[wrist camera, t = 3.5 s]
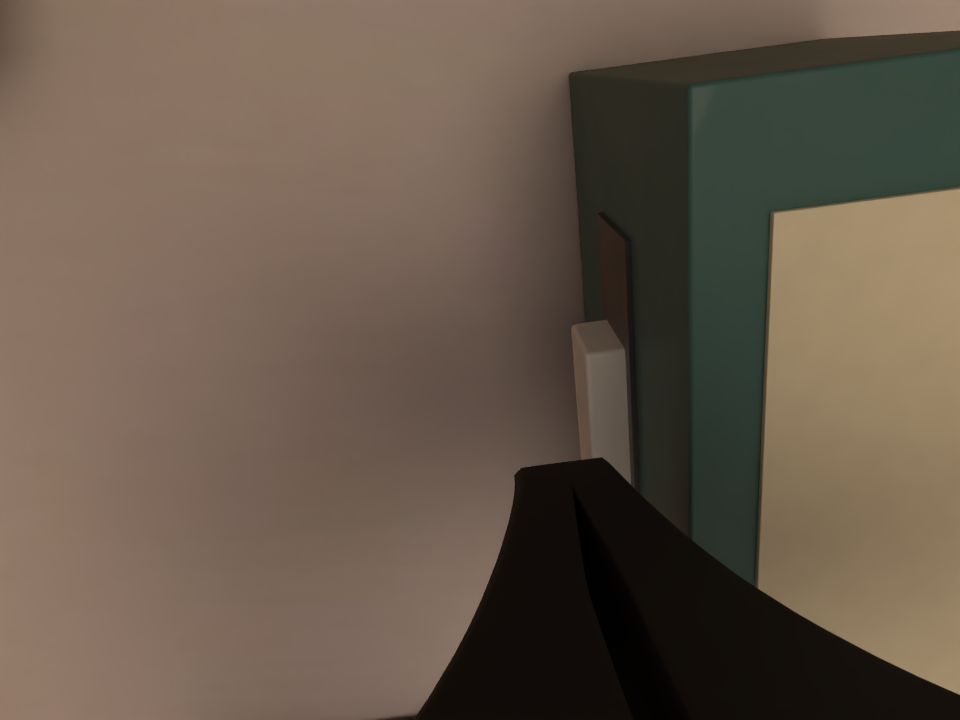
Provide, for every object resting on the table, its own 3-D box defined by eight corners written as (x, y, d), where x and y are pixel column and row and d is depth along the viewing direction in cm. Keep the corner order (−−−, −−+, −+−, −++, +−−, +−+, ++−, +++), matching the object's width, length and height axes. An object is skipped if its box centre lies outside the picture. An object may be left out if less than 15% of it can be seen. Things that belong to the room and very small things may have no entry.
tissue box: (795, 509, 20) (1010, 784, 12) (570, 537, 20) (647, 829, 12) (826, 38, 15) (1210, 15, 7) (530, 77, 15) (615, 94, 7)
